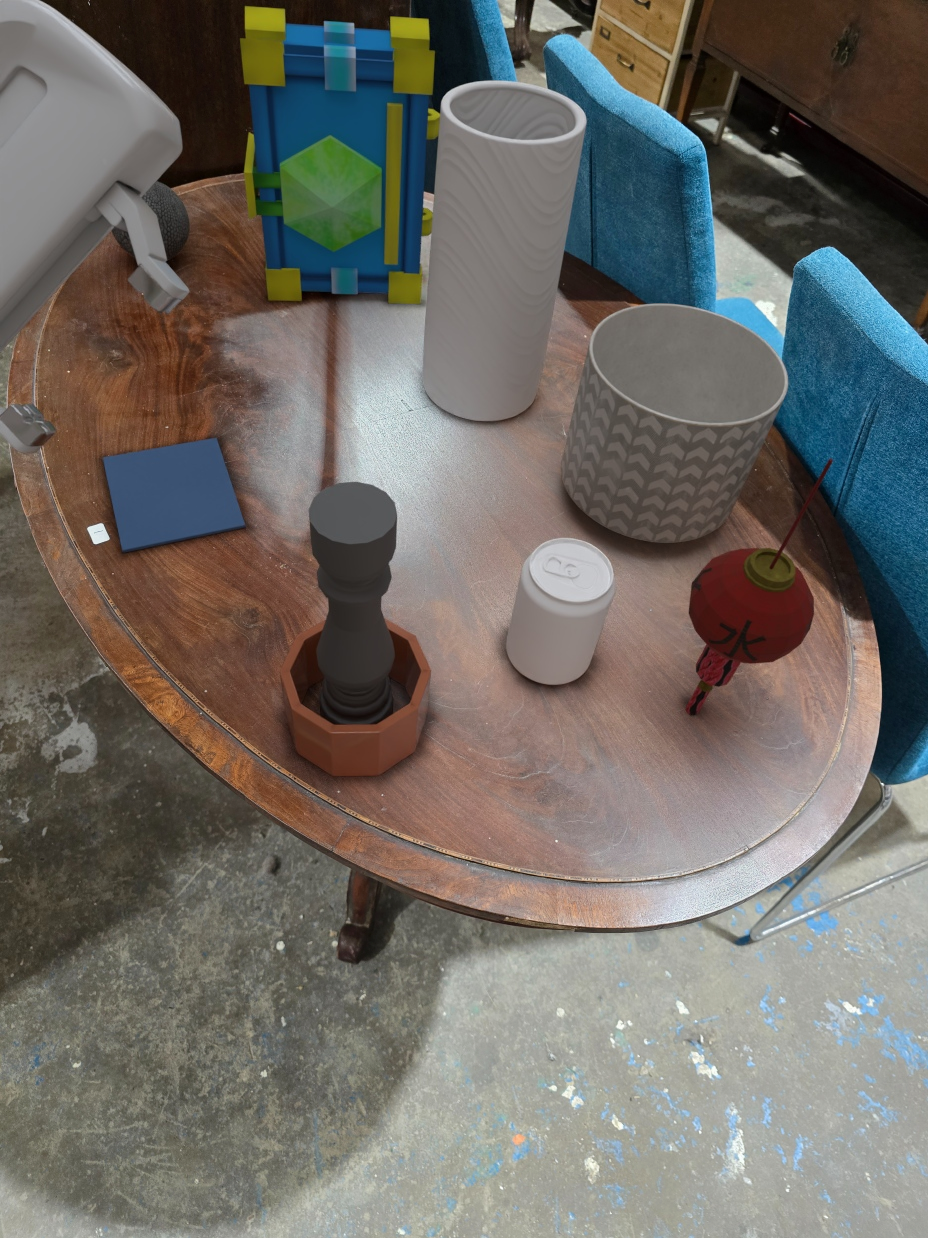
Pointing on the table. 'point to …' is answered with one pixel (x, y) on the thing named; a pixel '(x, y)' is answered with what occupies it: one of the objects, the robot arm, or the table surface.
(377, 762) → the terracotta pot
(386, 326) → the table surface
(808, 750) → the table surface
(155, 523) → the blue cloth
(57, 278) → the robot arm
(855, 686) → the table surface
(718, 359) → the planter
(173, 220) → the decorative ball
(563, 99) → the vase
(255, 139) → the decorative book
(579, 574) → the beverage can
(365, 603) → the candle holder
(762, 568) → the lantern
